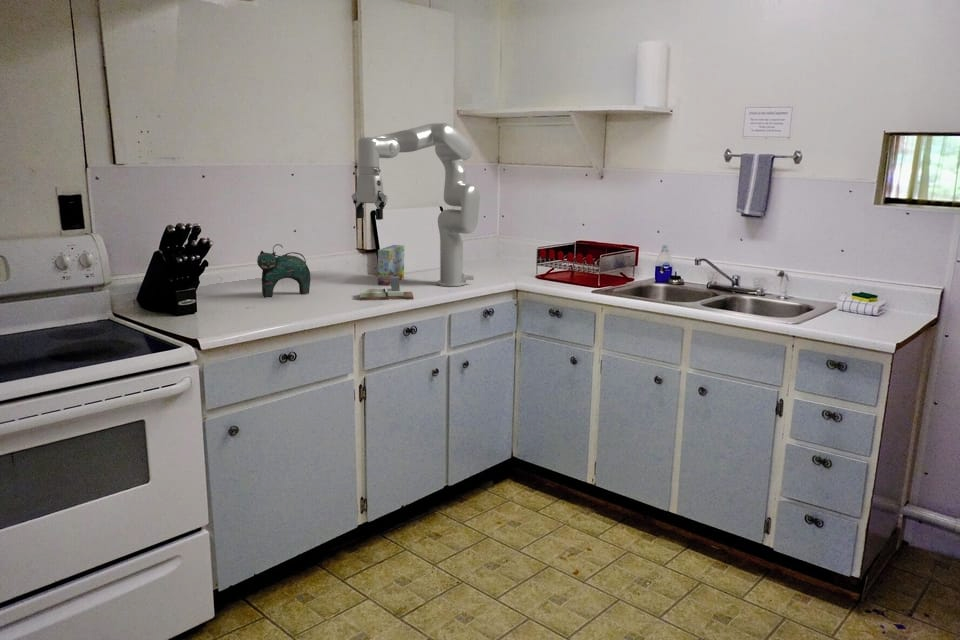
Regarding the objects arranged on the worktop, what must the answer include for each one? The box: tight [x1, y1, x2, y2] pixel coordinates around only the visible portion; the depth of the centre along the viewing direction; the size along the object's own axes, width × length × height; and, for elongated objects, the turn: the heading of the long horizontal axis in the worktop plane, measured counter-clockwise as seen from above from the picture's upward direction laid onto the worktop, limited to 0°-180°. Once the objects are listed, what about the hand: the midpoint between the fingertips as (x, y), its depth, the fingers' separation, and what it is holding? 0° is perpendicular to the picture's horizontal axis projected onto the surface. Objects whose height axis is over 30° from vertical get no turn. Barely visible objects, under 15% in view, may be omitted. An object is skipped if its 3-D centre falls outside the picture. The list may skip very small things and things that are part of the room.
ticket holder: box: [359, 288, 414, 301], centre depth 280 cm, size 20×11×3 cm, turn 98°
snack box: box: [377, 244, 405, 286], centre depth 315 cm, size 21×6×15 cm, turn 168°
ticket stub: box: [386, 276, 405, 296], centre depth 280 cm, size 6×9×6 cm, turn 8°
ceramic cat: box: [256, 243, 311, 298], centre depth 280 cm, size 20×6×20 cm, turn 121°
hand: (369, 218), depth 271 cm, fingers open, 9 cm apart
